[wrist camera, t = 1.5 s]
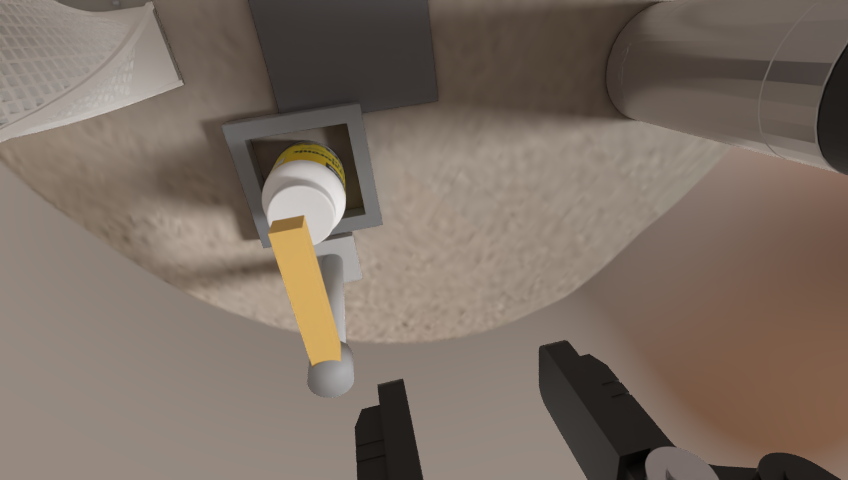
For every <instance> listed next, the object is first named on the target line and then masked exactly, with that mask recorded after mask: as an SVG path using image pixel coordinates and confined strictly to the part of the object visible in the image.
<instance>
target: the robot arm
mask: <svg viewBox="0 0 848 480" xmlns="http://www.w3.org/2000/svg"><path fill="white" fill-rule="evenodd" d="M606 81H607V89H608V93H609V96H610V98H611V100H612V102H613V105H614V106H615V107H616V108H617V109H618V110H619V112H621V113H622V114H624V115H625V116H627V117H629V118H632V119H635V120H638V121H642V122H646V123H650V124H654V125H657V126H661V127H664V128H668V129H672V130H676V131H680V132H683V133H687V134H691V135H695V136H699V137H703V138H706V139H710V140H714V141H718V142H722V143H725V144H729V145H733V146H737V147H741V148H745V149H748V150H753V151H756V152H760V153H764V154H768V155H771V156H775V157H779V158H783V159H788V160H792V161H795V162H799V163H803V164H807V165H811V166H815V167H818V168H823V169H826V170H830V171H834V172H838V173H843V174H845V175H848V0H676V1H669V2H661V3H657V4H655V5H652V6H650V7H647V8H646V9H644V10H643V11H641V12H640V13H638V14H637V15H636V16H635V17H634V18H633V19H632V20H631V21H629V22H628V23H627V25H626V26H625V27H624V29H623V30H622V31H621V33H620V34H619V36H618V38H617V40H616V41H615V43H614V45H613V47H612V50H611V53H610V56H609V59H608V65H607V71H606ZM539 388H540V393H541V396H542V399H543V402H544V404H545V406H546V408H547V410H548V411H549V413H550V415H551V417H552V418H553V420H554V422H555V424H556V425H557V427H558V429H559V431H560V432H561V434H562V436H563V438H564V439H565V441H566V443H567V444H568V446H569V448H570V449H571V451H572V453H573V455H574V457H575V458H576V460H577V462H578V464H579V466H580V467H581V469H582V471H583V472H584V474H585V476H586V478H587V479H588V480H841V479H839V478H838V477H836V476H834V475H833V474H831V473H829V472H828V471H826V470H825V469H823V468H821V467H820V466H818V465H816V464H815V463H813V462H811V461H809V460H807V459H805V458H802V457H799V456H796V455H792V454H788V453H770V454H768V455H765V456H764V457H763V458H762V459H761V460H760V462H759V465H758V467H757V468H743V467H726V466H715V465H710V464H707V463H706V462H705V461H704V460H702V459H701V458H700V457H698V456H697V455H695V454H693V453H691V452H689V451H687V450H684V449H681V448H677V447H676V446H674V445H673V443H672V442H671V441H670V440H669V439H668V438H667V437H666V435H665V434H664V433H663V432H662V431H661V429H660V428H659V427H658V426H657V425H656V423H655V422H654V421H653V420H652V419H651V418H650V416H649V415H648V414H647V413H646V412H645V410H644V409H643V408H642V407H641V406H640V404H639V403H638V402H637V401H636V400H635V398H634V397H633V396H632V395H630V394H629V391H628V390H627V389H626V388H625V386H624V385H623V384H622V383H620V382H619V379H618V378H617V377H616V376H615V374H614V373H613V372H612V371H611V370H610V369H609V367H608V366H607V365H606V364H604V363H603V362H601V361H600V360H598V359H596V358H595V357H593V356H591V355H590V354H587V355H583V356H579V355H578V353H577V352H576V351H575V349H574V348H573V347H572V346H571V344H570V343H569V342H568V341H566V340H563V341H559V342H555V343H551V344H547V345H543V346H540V348H539ZM378 395H379V403H380V405H378V406H373V407H369V408H365V409H362V411H361V413H360V415H359V418H358V421H357V423H356V426H355V439H356V461H357V480H423V475H422V470H421V465H420V460H419V455H418V450H417V446H416V440H415V435H414V430H413V425H412V420H411V415H410V410H409V405H408V401H407V395H406V391H405V386H404V381H403V379H399V380H395V381H390V382H386V383H382V384H378Z"/></svg>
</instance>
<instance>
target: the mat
mask: <svg viewBox="0 0 848 480" xmlns="http://www.w3.org/2000/svg"><path fill="white" fill-rule="evenodd" d="M248 1H249V5H250V8H251V12H252V15H253V19H254V23H255V26H256V30H257V33H258V37H259V40H260V44H261V48H262V51H263V55H264V58H265V62H266V66H267V69H268V73H269V76H270V80H271V84H272V87H273V91H274V94H275V98H276V102H277V105H278V109H279V112H280V114H282V113H289V112H295V111H301V110H307V109H313V108H320V107H326V106H332V105H338V104H344V103H351V102H357V101H359V103H360V108H361V113H366V112H372V111H378V110H384V109H390V108H397V107H403V106H409V105H415V104H421V103H427V102H433V101H438V95H437V86H436V76H435V67H434V58H433V48H432V39H431V30H430V21H429V11H428V2H427V0H248Z"/></svg>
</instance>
